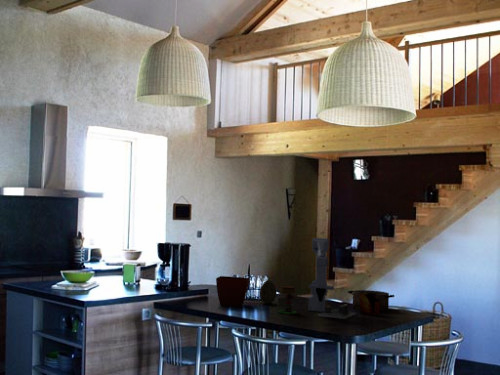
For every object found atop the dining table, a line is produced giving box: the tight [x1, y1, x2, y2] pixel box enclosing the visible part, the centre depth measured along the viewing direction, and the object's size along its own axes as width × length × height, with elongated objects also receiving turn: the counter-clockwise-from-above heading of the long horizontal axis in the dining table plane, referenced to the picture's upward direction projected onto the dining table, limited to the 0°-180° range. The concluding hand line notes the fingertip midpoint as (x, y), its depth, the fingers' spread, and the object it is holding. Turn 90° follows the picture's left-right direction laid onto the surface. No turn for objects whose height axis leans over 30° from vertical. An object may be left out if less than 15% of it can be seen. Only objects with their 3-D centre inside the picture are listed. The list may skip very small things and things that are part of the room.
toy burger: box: [277, 285, 298, 315], centre depth 373 cm, size 12×13×15 cm
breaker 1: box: [338, 305, 345, 314], centre depth 369 cm, size 2×4×4 cm, turn 155°
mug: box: [358, 293, 380, 316], centre depth 380 cm, size 10×14×12 cm
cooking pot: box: [347, 289, 395, 313], centre depth 403 cm, size 30×22×11 cm
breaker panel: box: [317, 308, 357, 320], centre depth 370 cm, size 16×22×2 cm
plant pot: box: [215, 275, 251, 308], centre depth 394 cm, size 19×19×17 cm
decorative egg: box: [259, 279, 277, 305], centre depth 409 cm, size 11×11×15 cm
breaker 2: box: [341, 304, 349, 312], centre depth 375 cm, size 2×4×4 cm, turn 155°
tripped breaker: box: [324, 305, 332, 313], centre depth 365 cm, size 2×4×4 cm, turn 155°
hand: (320, 301), depth 367 cm, fingers closed
